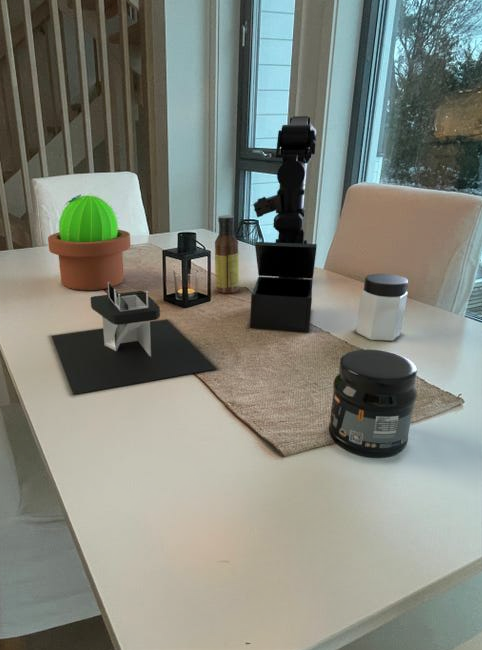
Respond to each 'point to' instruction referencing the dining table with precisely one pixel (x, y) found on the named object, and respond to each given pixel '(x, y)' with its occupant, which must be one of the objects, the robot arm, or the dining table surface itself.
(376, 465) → the dining table surface
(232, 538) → the dining table surface
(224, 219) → the sauce bottle
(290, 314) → the black storage bin
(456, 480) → the dining table surface
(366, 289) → the jar
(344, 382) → the supplement container
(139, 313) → the black-topped pedestal
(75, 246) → the potted cactus
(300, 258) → the bin lid
